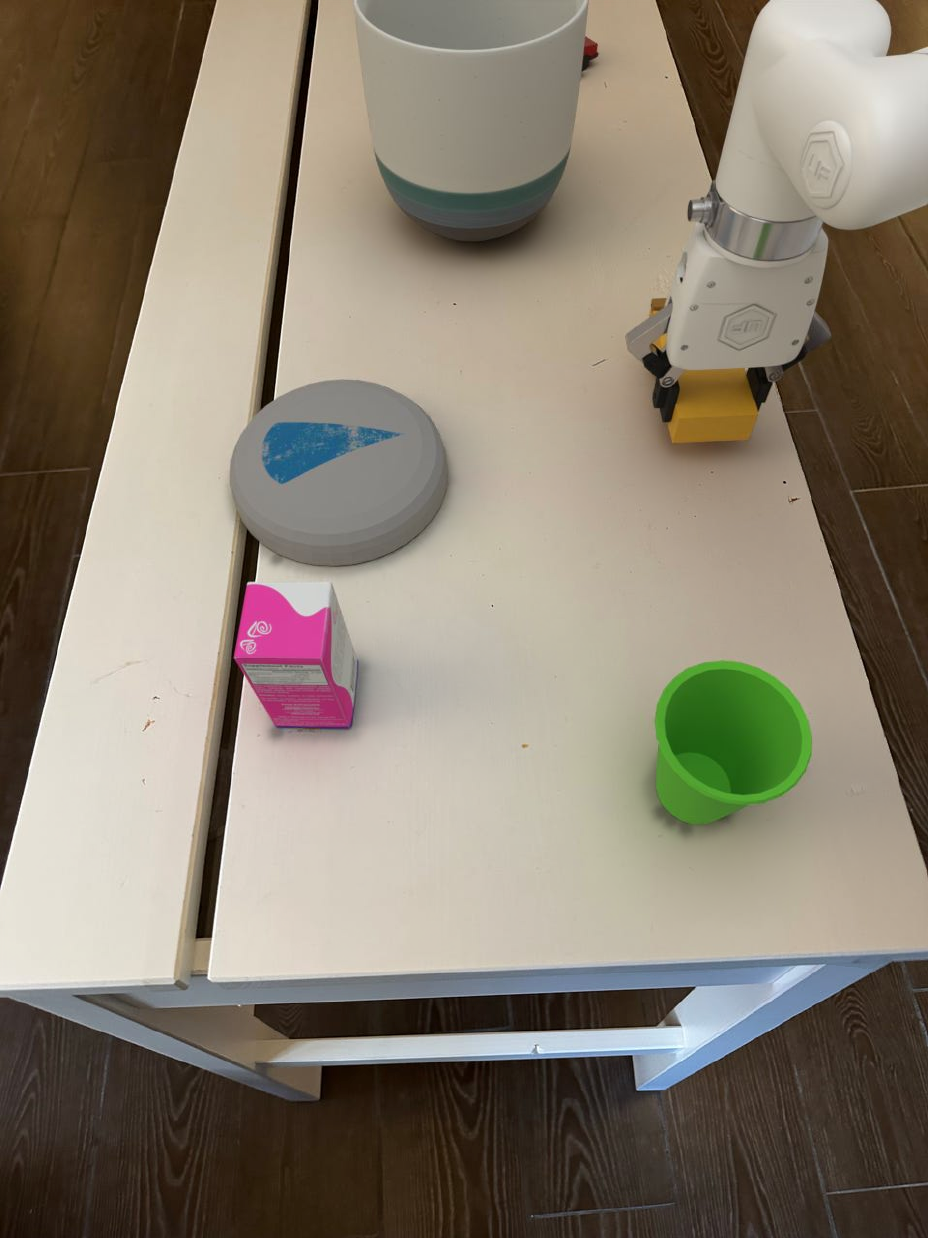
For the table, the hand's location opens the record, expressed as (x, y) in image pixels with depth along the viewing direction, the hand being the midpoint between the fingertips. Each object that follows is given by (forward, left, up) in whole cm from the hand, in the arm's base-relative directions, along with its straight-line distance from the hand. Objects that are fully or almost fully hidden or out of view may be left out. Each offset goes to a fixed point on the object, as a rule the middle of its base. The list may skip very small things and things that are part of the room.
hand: (705, 407), depth 71 cm
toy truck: (+39, -48, -4) cm, 62 cm away
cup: (-12, +30, -4) cm, 33 cm away
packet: (+2, -3, -1) cm, 4 cm away
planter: (+33, -18, -4) cm, 38 cm away
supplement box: (+15, +37, -4) cm, 40 cm away
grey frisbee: (+25, +19, -4) cm, 32 cm away
